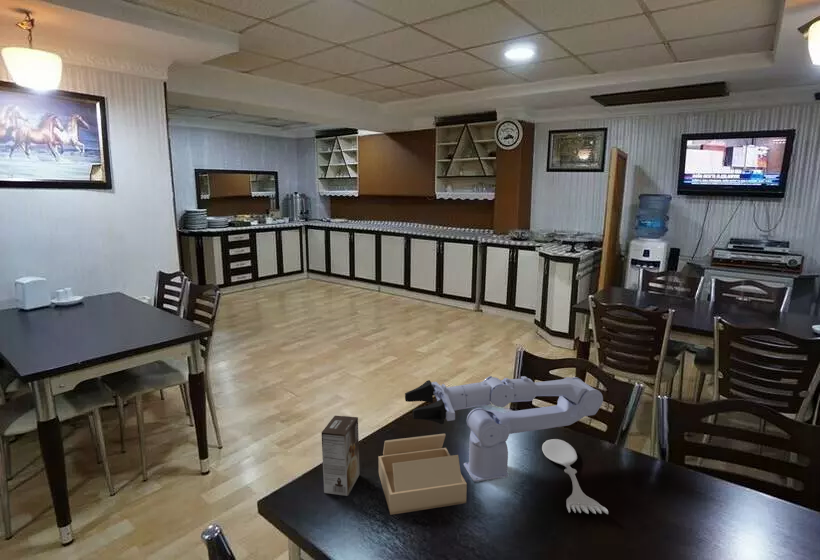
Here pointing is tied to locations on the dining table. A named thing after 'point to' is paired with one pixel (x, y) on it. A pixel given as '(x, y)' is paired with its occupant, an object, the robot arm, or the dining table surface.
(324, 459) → the coffee box
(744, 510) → the dining table surface
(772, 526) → the dining table surface
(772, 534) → the dining table surface
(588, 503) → the spoon
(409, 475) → the near flap
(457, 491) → the carton
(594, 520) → the dining table surface
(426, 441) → the far flap
